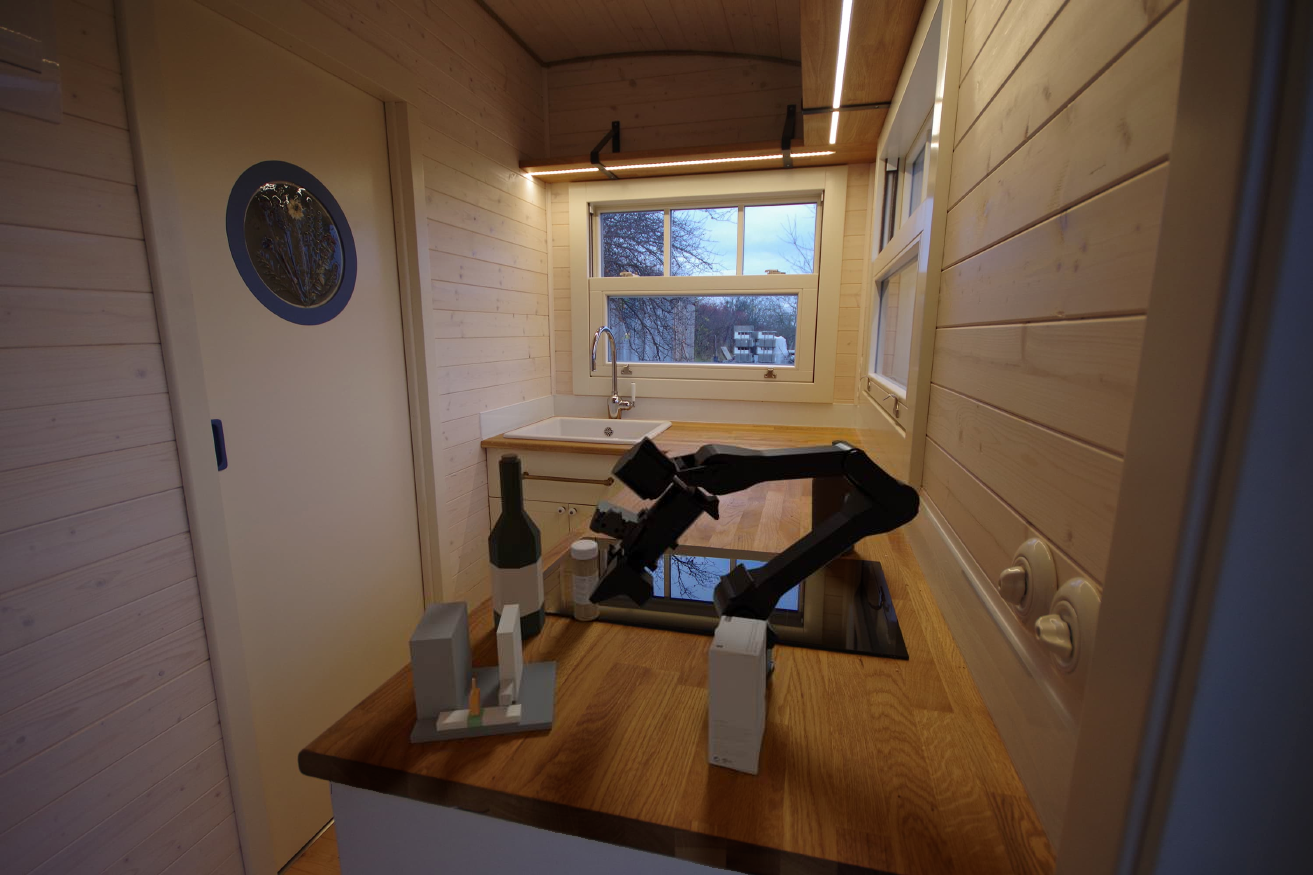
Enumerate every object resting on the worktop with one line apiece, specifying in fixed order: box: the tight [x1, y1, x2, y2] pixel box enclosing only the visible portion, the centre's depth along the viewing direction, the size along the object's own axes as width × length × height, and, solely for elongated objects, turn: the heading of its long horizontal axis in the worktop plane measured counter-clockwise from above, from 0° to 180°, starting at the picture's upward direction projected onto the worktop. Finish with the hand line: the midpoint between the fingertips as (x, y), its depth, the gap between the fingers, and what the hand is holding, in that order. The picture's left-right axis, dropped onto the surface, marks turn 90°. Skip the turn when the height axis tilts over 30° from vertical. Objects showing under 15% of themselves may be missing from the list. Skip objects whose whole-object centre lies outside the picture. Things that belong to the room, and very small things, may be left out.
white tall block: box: [496, 604, 524, 706], centre depth 70 cm, size 2×10×10 cm, turn 8°
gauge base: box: [408, 600, 558, 744], centre depth 70 cm, size 17×12×12 cm
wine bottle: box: [487, 453, 546, 641], centre depth 86 cm, size 8×8×30 cm
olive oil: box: [810, 439, 856, 557], centre depth 118 cm, size 11×11×25 cm
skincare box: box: [707, 616, 767, 776], centre depth 63 cm, size 8×6×15 cm
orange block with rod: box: [469, 678, 481, 715], centre depth 66 cm, size 1×2×4 cm, turn 8°
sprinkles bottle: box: [570, 539, 600, 622], centre depth 92 cm, size 5×5×13 cm
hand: (591, 601), depth 73 cm, fingers closed
